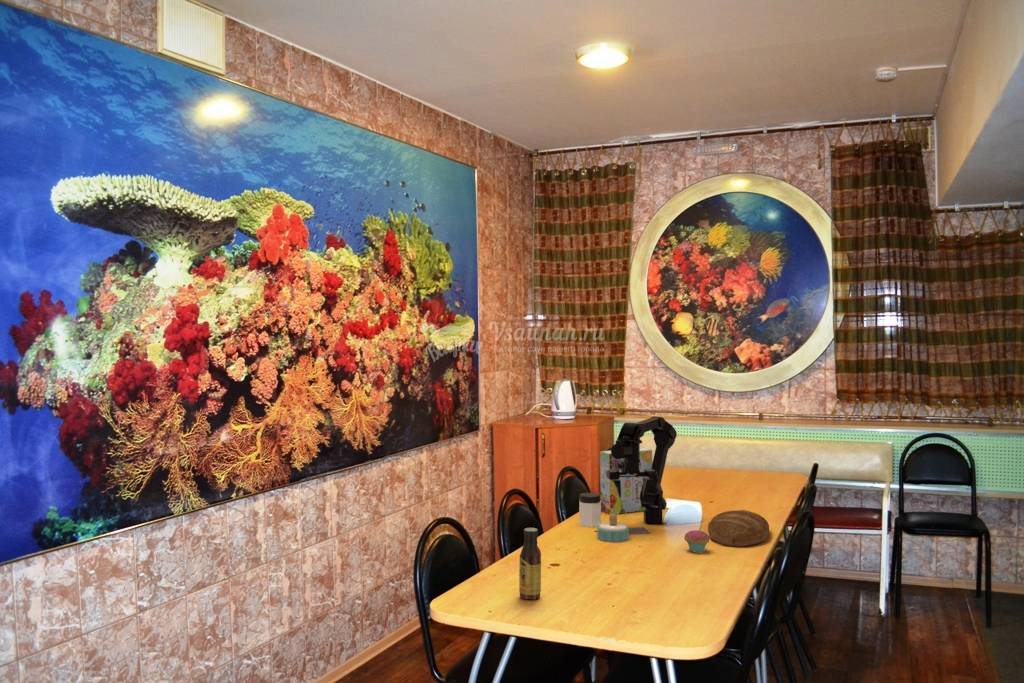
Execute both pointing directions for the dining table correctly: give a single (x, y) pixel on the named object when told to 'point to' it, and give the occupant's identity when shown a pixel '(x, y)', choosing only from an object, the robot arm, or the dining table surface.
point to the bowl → (612, 535)
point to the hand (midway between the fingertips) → (631, 497)
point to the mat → (638, 530)
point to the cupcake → (697, 539)
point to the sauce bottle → (530, 566)
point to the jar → (589, 509)
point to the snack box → (622, 484)
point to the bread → (738, 528)
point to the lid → (613, 524)
